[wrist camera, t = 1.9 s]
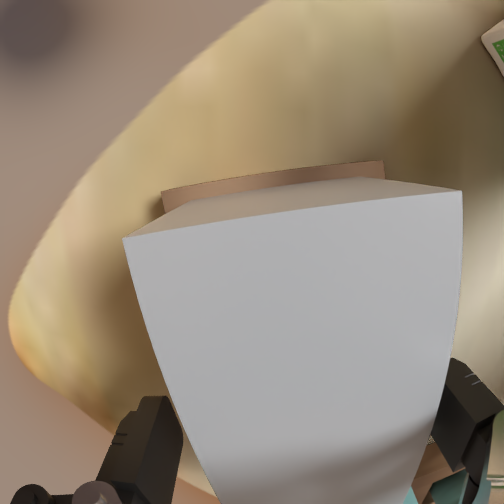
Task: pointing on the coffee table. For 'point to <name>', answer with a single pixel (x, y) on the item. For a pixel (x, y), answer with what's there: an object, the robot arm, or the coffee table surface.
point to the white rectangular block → (305, 333)
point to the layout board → (270, 181)
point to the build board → (437, 479)
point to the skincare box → (495, 44)
